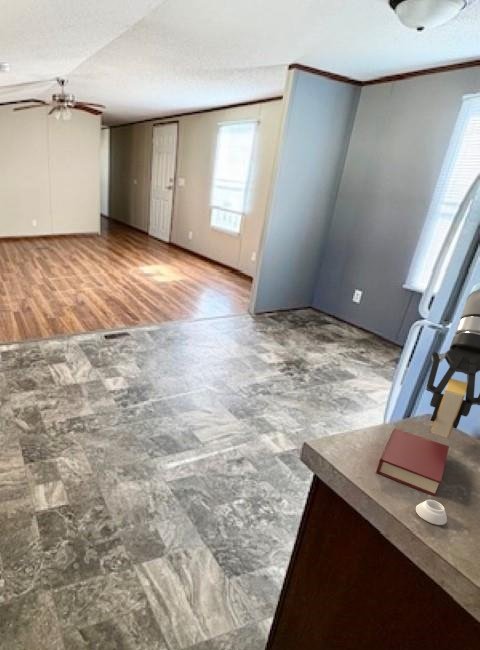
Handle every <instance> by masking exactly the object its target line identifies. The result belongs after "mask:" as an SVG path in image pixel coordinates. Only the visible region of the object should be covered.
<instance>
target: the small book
mask: <svg viewBox="0 0 480 650" xmlns="http://www.w3.org/2000/svg"><path fill="white" fill-rule="evenodd" d="M467 385H468V383H467V381H462V380H458V379H455V378H452V377H451V378H450V379H449V382H448V383H447V385H446V386H445V389H444V393H443V394H444V396H443V399H442V401H441V404H440V407H439V410H438V413H437V415H436V418H435V421H434V422H433V424H432V427H431V429H430V432H429V433H430V434H432V435H436V436H439V437H442V438H445V439H449V438H450V436H451V433H452V430H453V429H454V428H453V425H454V422H455V420H456V417H457V414H458V412H459V409H460V407H461V404H462V401H463V400H465V397H466V389H467Z"/></svg>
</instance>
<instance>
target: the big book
mask: <svg viewBox="0 0 480 650" xmlns="http://www.w3.org/2000/svg"><path fill="white" fill-rule="evenodd" d="M391 431H392V432H391V433H390V435H389V437H388V440H387V443H386V445H385V447H384V449H383V451H382V454H381V456H380V459H379V461H378V464H377V468H376V471H375V474H378V475H380V476H383V477H385V478H387V479H390V480H393V481H395V482H398V483H400V484H403V485H405V486H408V487H410V488H413V489H415V490H417V491H421V492H422V493H426V494H427V495H431V496H432V497H436V496H437V492H438V488H439V484H442V480H443V476H444V471H445V466H446V462H447V458H448V453H449V448H450V446H449V445H446V444H443V443H440V442H437V441H434V440H432V439H428V438H426V437H422V436H420V435H416V434H413V433H410V432H407V431H405V430H402V429H399V428H395V427H393V429H392V430H391Z"/></svg>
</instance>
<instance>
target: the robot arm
mask: <svg viewBox="0 0 480 650" xmlns="http://www.w3.org/2000/svg"><path fill="white" fill-rule="evenodd" d="M430 358H431V363H432V365H431V368H430V373H429V376H428V379H427V383H426V387H425V390H426V391H427V392H430V393H431V394H432V396H431V400H430V403H429V406H430V407H432V408H434V410H433V412H432V415H431V418H430V421H431V422H433V423H434V421H435V418H436V415H437V413H438V410H439V407H440V404H441V401H442V399H443V396H444V393H443V391H444V390H445V389H446V387H447V384H448V382H449V379H450V378H451V379H452V377H453V376H454V375H455V373H456V372H457V373H462V374H465V375H466V383H468V385H467V389H466V392H465V398H464V399H463V401H462V404H461V407H460V409H459V412H458V414H457V417H456V420H455V422H454V425H453V428H452V429H457V428H458V426H459V424H460V420H461V418H462V417H468V416H469V414H470V412H471V409H472V406H473V405H476V406H480V393H479V394H478V395H477V397H475V386H476V374H477V373H479V372H480V282H479V283H476V284H475V285H474V286H473V287H472V288H471V290H470V292H469V294H468V295H467V297H466V300H465V304H464V308H463V310H462V313H461V316H460V318H459V321H458V323H457V327H456V329H455V332H454V336H453V337H452V341H451V343H450V346H449V349H448V350H447V351H445V352H444V353H438V352H436V351H434V352H432V354H431V357H430ZM443 360H445V361H446V362H447V364H448V366H449V368H448V369H447V371H446V372H445V374H444V375H443V377H442V378H441V379H440V381H439V383H438V384H437V386H436V385H434V384H435V380H436V376H437V374H438V369H439V364H440V363H443Z"/></svg>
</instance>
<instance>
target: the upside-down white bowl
mask: <svg viewBox="0 0 480 650" xmlns="http://www.w3.org/2000/svg"><path fill="white" fill-rule="evenodd" d="M415 512H416V514H417V515H418V516H419V517H420V518H421V519H423V520H424V521H426V522H428V523H429V524H432V525H436V526H443V525H446V524H447V522H448V517H447V512H446V509H445V506H444V505H443V504H441V503H440V502H439V501H437V500H434V499H426V500H425V501H422V502H420V503H419V504H417V505H416V507H415Z"/></svg>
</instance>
